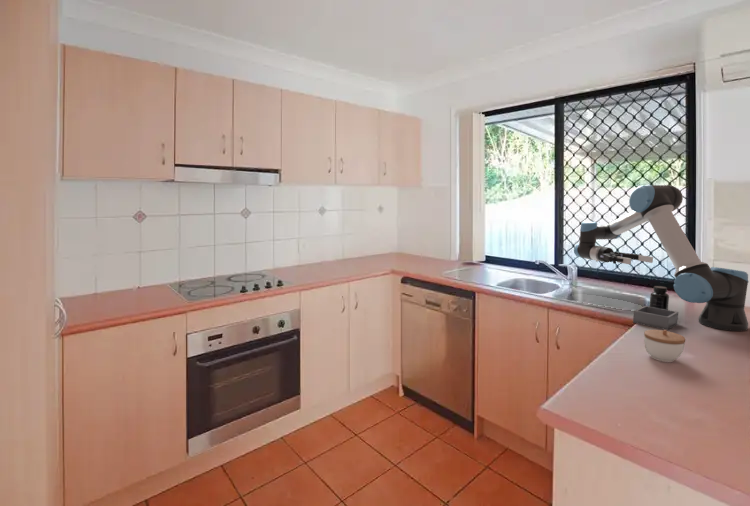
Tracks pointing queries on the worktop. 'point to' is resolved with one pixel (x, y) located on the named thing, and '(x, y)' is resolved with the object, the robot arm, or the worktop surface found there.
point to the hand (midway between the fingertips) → (641, 260)
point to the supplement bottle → (659, 298)
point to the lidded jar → (663, 344)
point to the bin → (655, 317)
